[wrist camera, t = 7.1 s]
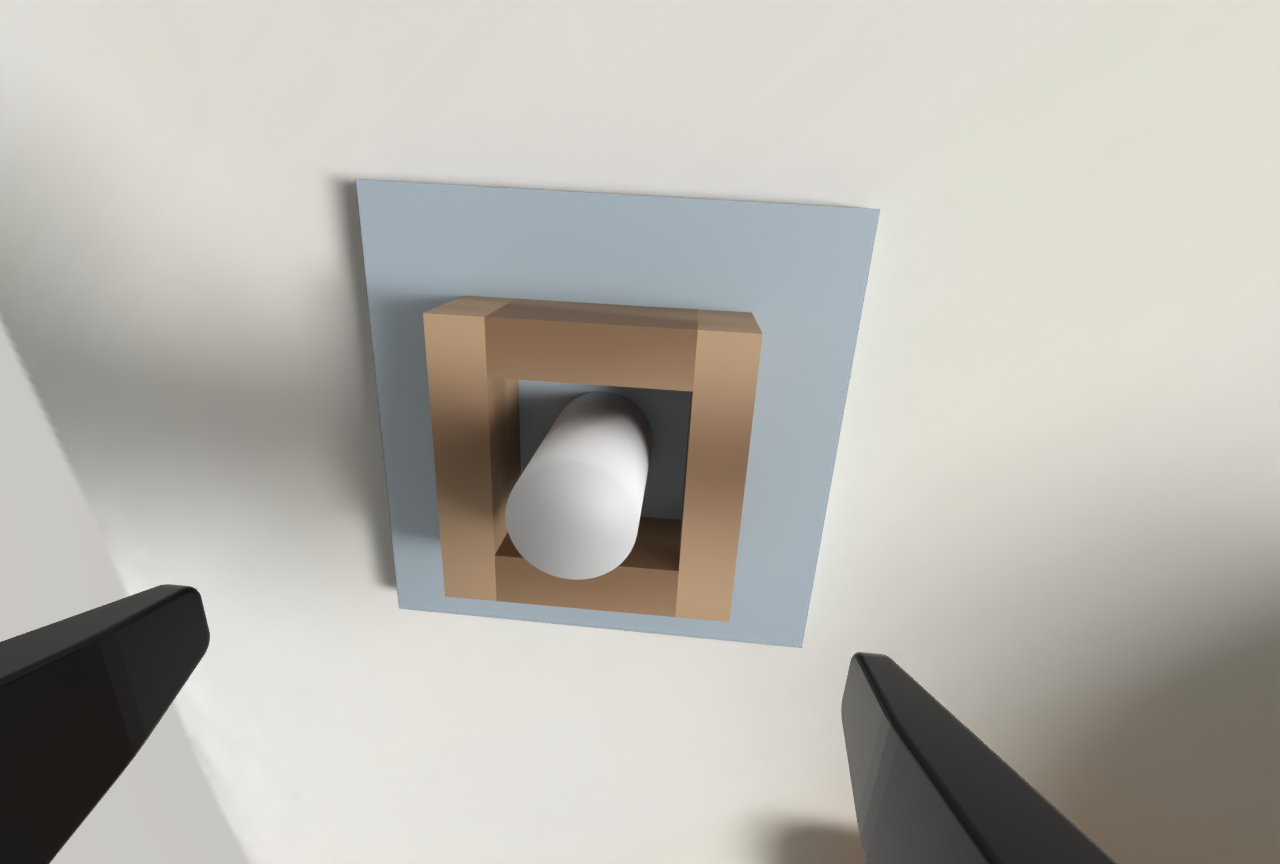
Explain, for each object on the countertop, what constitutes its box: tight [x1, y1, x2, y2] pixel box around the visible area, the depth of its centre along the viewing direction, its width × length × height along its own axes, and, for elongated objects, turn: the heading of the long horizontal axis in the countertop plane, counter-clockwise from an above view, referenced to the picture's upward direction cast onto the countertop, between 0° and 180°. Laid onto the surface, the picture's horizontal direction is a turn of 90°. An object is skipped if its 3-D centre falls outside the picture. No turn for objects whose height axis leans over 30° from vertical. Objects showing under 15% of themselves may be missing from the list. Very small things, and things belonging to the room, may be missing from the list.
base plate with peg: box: [356, 179, 880, 648], centre depth 15 cm, size 12×12×6 cm
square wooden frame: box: [423, 296, 763, 622], centre depth 15 cm, size 7×7×2 cm
